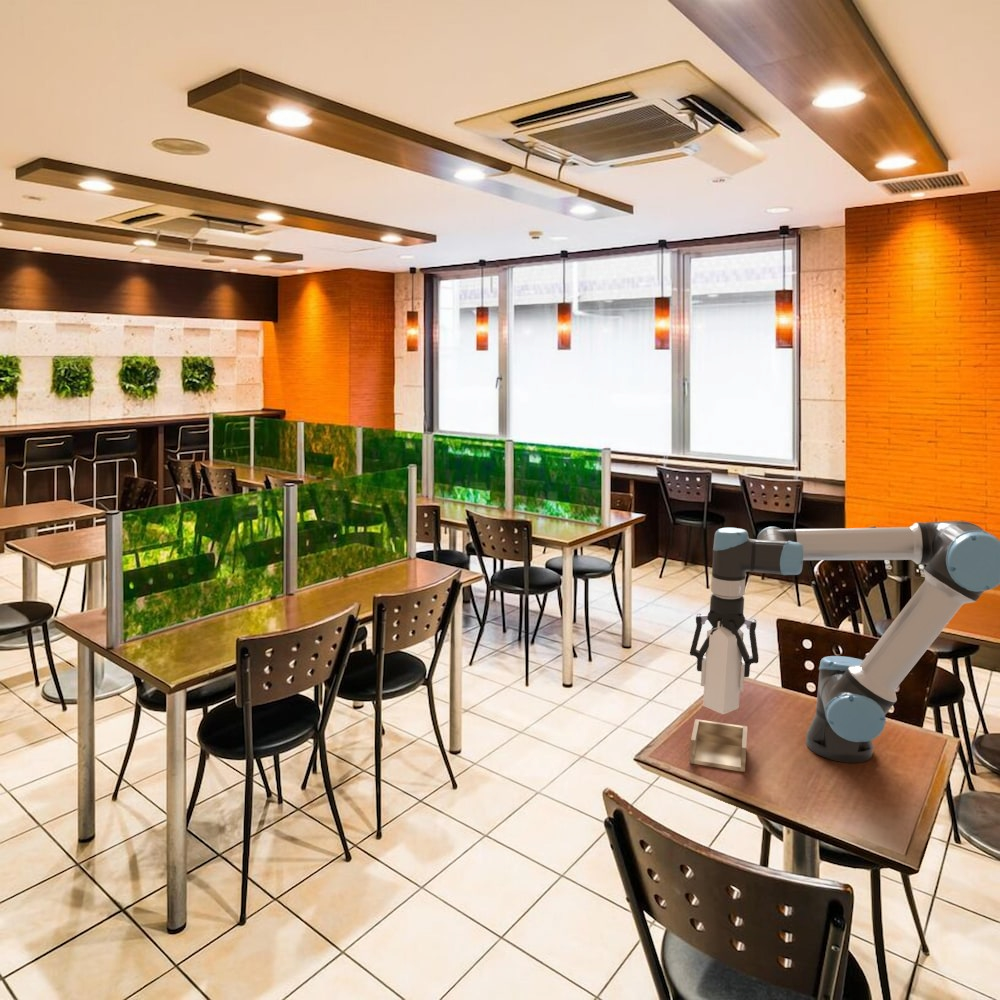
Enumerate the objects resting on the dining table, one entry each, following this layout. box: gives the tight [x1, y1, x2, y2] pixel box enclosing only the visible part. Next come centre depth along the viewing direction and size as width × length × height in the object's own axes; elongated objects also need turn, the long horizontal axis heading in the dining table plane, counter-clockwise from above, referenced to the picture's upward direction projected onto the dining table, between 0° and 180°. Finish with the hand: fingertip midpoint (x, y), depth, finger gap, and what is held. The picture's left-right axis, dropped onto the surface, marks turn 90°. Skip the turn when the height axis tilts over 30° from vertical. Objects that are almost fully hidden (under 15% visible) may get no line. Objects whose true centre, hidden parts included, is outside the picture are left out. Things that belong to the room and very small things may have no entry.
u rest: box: [689, 718, 748, 773], centre depth 187 cm, size 12×12×6 cm
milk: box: [702, 621, 744, 715], centre depth 183 cm, size 6×6×22 cm
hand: (722, 686), depth 184 cm, fingers closed on milk, 8 cm apart
